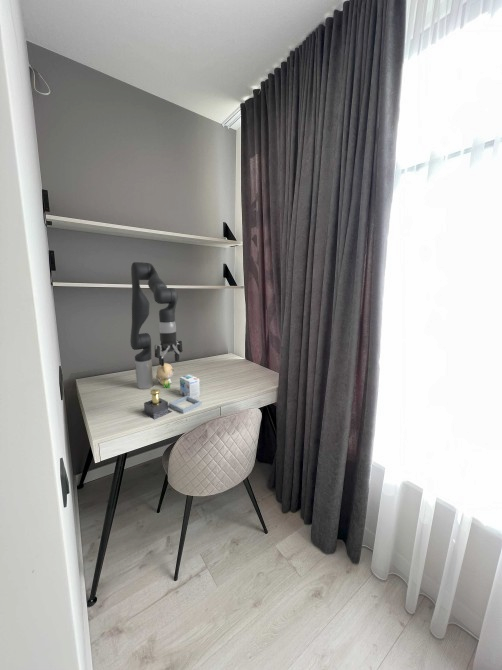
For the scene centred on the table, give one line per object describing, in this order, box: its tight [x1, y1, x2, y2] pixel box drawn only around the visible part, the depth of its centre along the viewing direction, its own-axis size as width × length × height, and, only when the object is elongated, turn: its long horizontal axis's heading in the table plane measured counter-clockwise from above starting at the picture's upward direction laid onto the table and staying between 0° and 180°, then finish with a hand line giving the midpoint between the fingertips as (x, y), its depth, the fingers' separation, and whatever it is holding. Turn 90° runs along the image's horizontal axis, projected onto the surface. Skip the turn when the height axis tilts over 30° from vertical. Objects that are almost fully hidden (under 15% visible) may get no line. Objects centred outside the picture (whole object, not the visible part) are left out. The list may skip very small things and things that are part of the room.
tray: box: [168, 396, 202, 415], centre depth 140 cm, size 12×12×3 cm
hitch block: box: [141, 397, 173, 421], centre depth 133 cm, size 12×10×6 cm
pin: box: [150, 388, 161, 405], centre depth 133 cm, size 4×4×11 cm
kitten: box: [155, 362, 175, 389], centre depth 169 cm, size 15×10×15 cm
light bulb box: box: [179, 374, 201, 399], centre depth 154 cm, size 11×7×11 cm, turn 45°
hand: (169, 363), depth 132 cm, fingers open, 8 cm apart
